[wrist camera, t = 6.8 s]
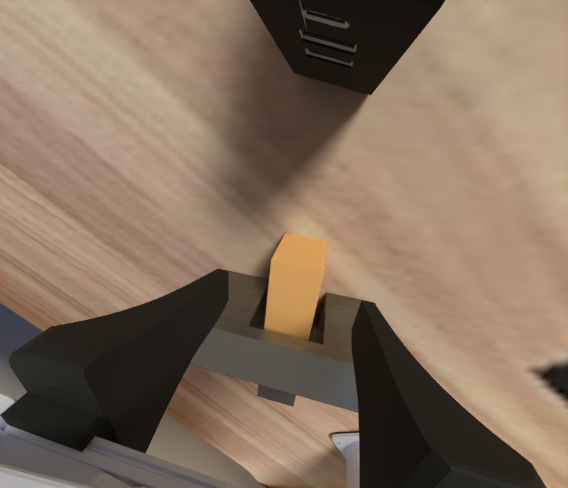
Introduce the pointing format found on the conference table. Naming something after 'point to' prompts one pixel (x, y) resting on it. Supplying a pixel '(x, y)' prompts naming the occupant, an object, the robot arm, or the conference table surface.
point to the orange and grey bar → (293, 294)
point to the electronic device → (345, 36)
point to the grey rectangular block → (283, 347)
